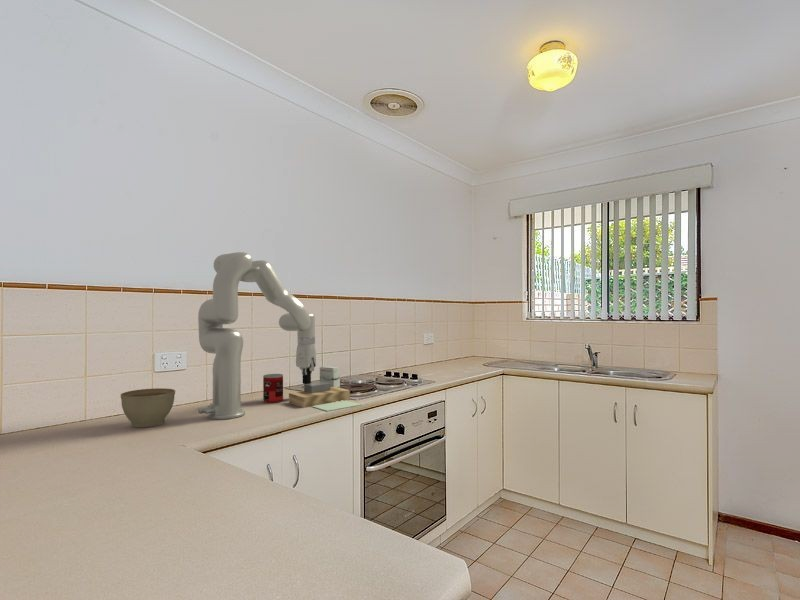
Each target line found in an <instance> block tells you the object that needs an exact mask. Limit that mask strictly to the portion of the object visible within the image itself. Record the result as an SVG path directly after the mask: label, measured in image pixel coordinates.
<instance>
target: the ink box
mask: <svg viewBox="0 0 800 600" xmlns="http://www.w3.org/2000/svg"><path fill="white" fill-rule="evenodd" d="M340 369H341V367H339V366H320V367H319V382H326V383H330V387H337V388H341V375H340V373H341V370H340Z"/></svg>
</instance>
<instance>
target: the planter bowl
mask: <svg viewBox="0 0 800 600" xmlns="http://www.w3.org/2000/svg"><path fill="white" fill-rule="evenodd" d="M175 395H176V389H173V388H158V387H157V388H142V389H134V390H130V391H129V390H128V391H124V392H122V393H120V399H121V403H120V404H121V408H122V410H123V414H124V415H125V417H126V418H127V419H128V421H130V424H131V427H134V428H149V427H148V426H150V427H155V425H156V426H160V425H162V424H164V423H165V419H166V418H167V417H168V415H169V414H170V412H171V410H172V408H173V405H174V403H175Z"/></svg>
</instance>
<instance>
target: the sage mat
mask: <svg viewBox="0 0 800 600" xmlns="http://www.w3.org/2000/svg"><path fill="white" fill-rule="evenodd" d="M358 406H359V407H360V406H362V404H361V403H358V402H354V401H350V400H345V401H339V402H333V403H327V404H321V405H316V406H311V407H312V408H314V409H318V410H321V411H325V412H332V411H339V410H343V409H348V408H353V407H358Z"/></svg>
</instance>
